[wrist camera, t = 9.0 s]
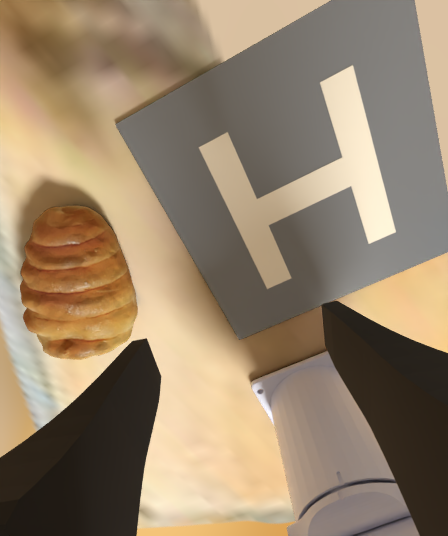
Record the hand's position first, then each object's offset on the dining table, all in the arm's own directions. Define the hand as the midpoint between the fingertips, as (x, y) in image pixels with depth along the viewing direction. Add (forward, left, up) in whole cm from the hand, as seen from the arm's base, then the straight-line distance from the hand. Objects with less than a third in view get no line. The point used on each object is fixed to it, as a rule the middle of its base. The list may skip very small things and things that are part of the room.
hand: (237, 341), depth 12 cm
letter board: (+2, -6, -8) cm, 11 cm away
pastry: (+3, +9, -9) cm, 13 cm away
